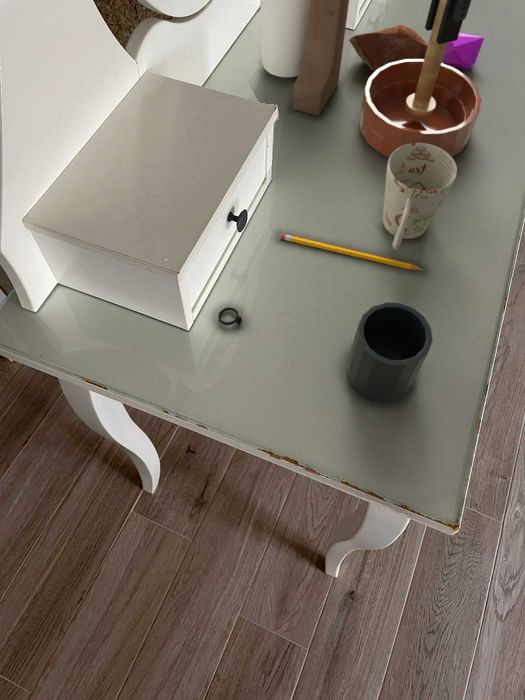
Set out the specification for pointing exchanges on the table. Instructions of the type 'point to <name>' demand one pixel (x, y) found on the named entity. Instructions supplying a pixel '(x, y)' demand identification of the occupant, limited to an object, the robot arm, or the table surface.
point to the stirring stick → (428, 73)
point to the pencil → (349, 252)
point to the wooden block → (321, 55)
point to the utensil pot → (388, 351)
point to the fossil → (389, 46)
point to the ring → (237, 320)
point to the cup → (284, 35)
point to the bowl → (402, 128)
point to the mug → (415, 188)
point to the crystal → (462, 51)
